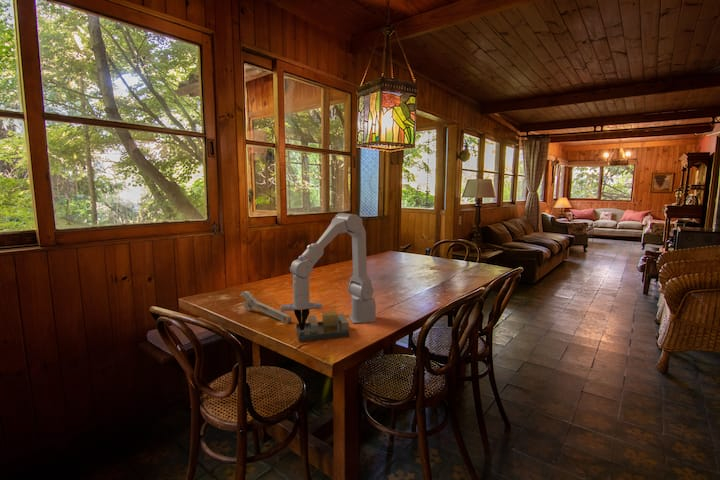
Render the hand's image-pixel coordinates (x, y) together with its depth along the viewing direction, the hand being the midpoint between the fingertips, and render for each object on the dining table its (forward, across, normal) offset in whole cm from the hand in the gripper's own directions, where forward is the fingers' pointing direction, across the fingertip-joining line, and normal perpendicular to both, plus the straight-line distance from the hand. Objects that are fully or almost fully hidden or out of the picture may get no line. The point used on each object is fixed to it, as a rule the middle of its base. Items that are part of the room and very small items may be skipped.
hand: (301, 329), depth 135 cm
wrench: (+2, +14, -23) cm, 27 cm away
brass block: (+1, -10, 0) cm, 10 cm away
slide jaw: (+1, -4, 0) cm, 4 cm away
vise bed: (+2, -7, 0) cm, 8 cm away
